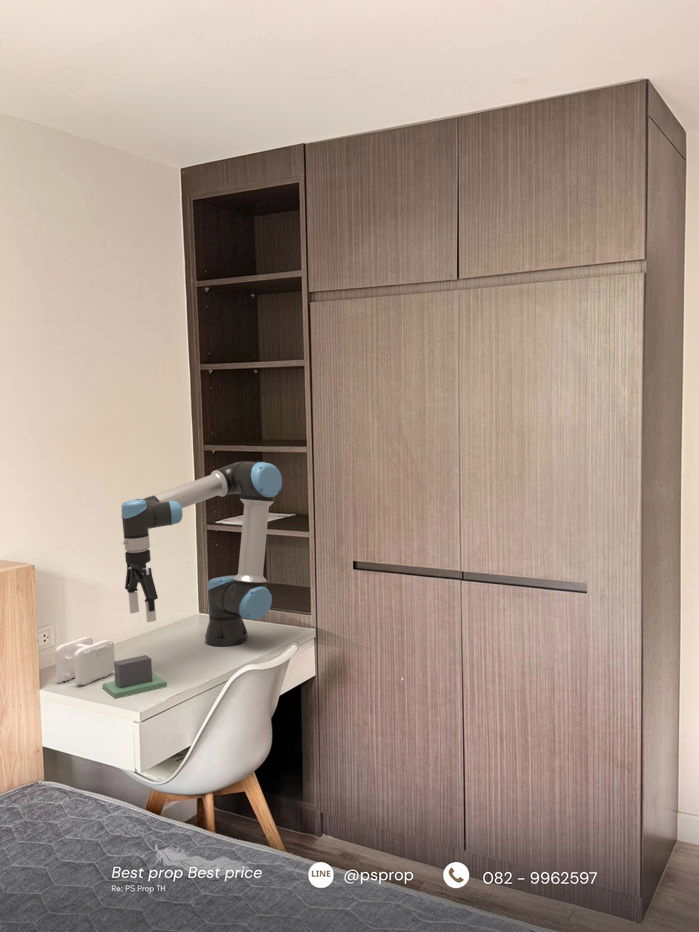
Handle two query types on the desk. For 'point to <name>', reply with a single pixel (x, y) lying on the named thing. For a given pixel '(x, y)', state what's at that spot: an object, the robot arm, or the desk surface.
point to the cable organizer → (84, 660)
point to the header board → (134, 687)
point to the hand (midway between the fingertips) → (142, 616)
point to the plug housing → (133, 671)
